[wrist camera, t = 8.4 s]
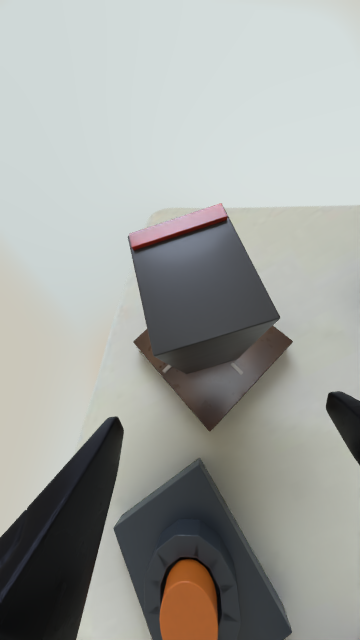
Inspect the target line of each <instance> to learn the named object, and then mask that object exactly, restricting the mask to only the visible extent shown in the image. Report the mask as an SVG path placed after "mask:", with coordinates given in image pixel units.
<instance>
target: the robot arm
mask: <svg viewBox="0 0 360 640" xmlns="http://www.w3.org/2000/svg"><path fill="white" fill-rule="evenodd" d="M326 410H327V412H328V414H329V416H330V418H331V419H332V421H333V423H334V424H335V426H336V428H337V430H338V431H339V433H340V435H341V436H342V438H343V440H344V442H345V443H346V445H347V447H348V448H349V450H350V452H351V453H352V455H353V456H354V458H355V459H356V461H357V462H358V463H359V465H360V401H359V400H357V399H355V398H353V397H351V396H349V395H347V394H345V393H343V392H340V391H337V392H330V393H329V394H328V398H327V403H326ZM123 434H124V430H123V426H122V424H121V422H120V420H119V418H118V417H109V418H108V419H106V420H105V422H104V423H103V424H102V425H101V426H100V427H99V428H98V429H97V431H96V432H95V433H94V434H93V435H92V436H91V437H90V438H89V439H88V441H87V442H86V443H85V444H84V445H83V446H82V447H81V448H80V450H79V451H78V452H77V453H76V454H75V455H74V456H73V457H72V458H71V460H70V461H69V462H68V463H67V464H66V465H65V466H64V467H63V469H62V470H61V471H60V472H59V473H58V474H57V475H56V476H55V477H54V479H53V480H52V481H51V482H50V483H49V484H48V485H47V486H46V488H45V489H44V490H43V491H42V492H41V493H40V494H39V495H38V497H37V498H36V499H35V500H34V501H33V502H32V503H31V504H30V505H29V507H28V508H27V510H25V511H24V512H23V513H22V514H21V515H20V517H19V518H18V519H17V520H16V521H15V522H14V523H13V524H12V525H11V526H10V528H9V529H8V530H7V531H6V532H5V533H4V534H3V535H2V536H1V537H0V640H76V638H77V634H78V630H79V626H80V622H81V618H82V614H83V610H84V606H85V602H86V598H87V594H88V590H89V585H90V581H91V577H92V573H93V569H94V565H95V561H96V557H97V553H98V549H99V545H100V541H101V537H102V533H103V529H104V525H105V521H106V517H107V513H108V509H109V505H110V501H111V497H112V493H113V489H114V485H115V481H116V476H117V472H118V466H119V460H120V453H121V447H122V441H123Z"/></svg>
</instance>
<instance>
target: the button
mask: <svg viewBox="0 0 360 640" xmlns="http://www.w3.org/2000/svg"><path fill="white" fill-rule="evenodd" d="M160 630H161V635H162V639H163V640H217V639H218V613H217V594H216V589H215V585H214V582H213V580H212V577H211V576H210V574H209V572H208V571H207V569H206V568H205V567H204V566H203V565H202V564H201V563H199V562H198V561H196V560H193V559H183V560H180V561H179V562H177V563H176V564H175V565H174V566H173V567H172V569H171V570H170V572H169V574H168V577H167V581H166V585H165V590H164V594H163V599H162V604H161V608H160Z"/></svg>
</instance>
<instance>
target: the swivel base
mask: <svg viewBox="0 0 360 640" xmlns="http://www.w3.org/2000/svg"><path fill="white" fill-rule="evenodd" d="M292 342H293V341H292V340H291V339H289V338H288V337H287V336H285V335H284V334H283V333H282V332H280V331H279V330H278V329H276V328H275V327H274V326H272V327H271V328H269V329H268V330H267V331H266V332H265V333H264V334H263V335H262V336H261V337H260V338H259V339H258V340H257V341H256V342H255V343H254V344H253V345H252V346H251V347H250V348H249V349H248V350H246V351H245V352H244V353H243V354H242V355H241V356H240V357H239V358H238V359H236V360H233V361H230V362H226V363H223V364H219V365H216V366H213V367H209V368H206V369H202V370H199V371H196V372H192V373H189V374H185V373H183V372H181V371H179V370H178V369H176V368H174V367H172V366H170V365H169V364H167V363H165V362H163V361H161V360H160V359H158V358H156V357H154V356H153V352H152V348H151V343H150V338H149V334H148V329H147V330H145V331H144V332H143V333H142V334H141V335H140V336H139V337H138V338H137V339H136V340H135V341H134V343H135V345H136V346H137V347H138V348H139V349H140V351H141V352H142V353H143V354H144V355H145V356H146V358H147V359H148V360H149V361H150V362H151V363H152V365H153V366H154V367H155V368H156V369H157V370H158V372H159V373H160V374H161V375H162V376H163V378H164V379H165V380H166V381H167V382H168V383H169V385H170V386H171V387H172V388H173V389H174V390H175V392H176V393H177V394H178V395H179V396H180V397H181V399H182V400H183V401H184V402H185V403H186V405H187V406H188V407H189V408H190V409H191V410H192V412H193V413H194V414H195V415H196V416H197V417H198V419H199V420H200V421H201V422H202V423H203V424H204V426H205V427H206V428H207V429H208V430H209V431H211V430H212V429H213V428H214V427H215V426H216V425H217V424H218V423H219V422H220V421H221V419H222V418H223V417H224V416H225V415H226V414H227V413H228V412H229V411H230V410H231V409H232V407H233V406H234V405H235V404H236V403H237V402H238V401H239V400H240V399H241V398H242V397H243V396H244V394H245V393H246V392H247V391H248V390H249V389H250V388H251V387H252V386H253V385H254V384H255V382H256V381H257V380H258V379H259V378H260V377H261V376H262V375H263V374H264V373H265V372H266V371H267V369H268V368H269V367H270V366H271V365H272V364H273V363H274V362H275V361H276V360H277V359H278V357H279V356H280V355H281V354H282V353H283V352H284V351H285V350H286V349H287V348H288V347H289V346H290V344H291V343H292Z"/></svg>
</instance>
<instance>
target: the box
mask: <svg viewBox="0 0 360 640" xmlns="http://www.w3.org/2000/svg"><path fill="white" fill-rule="evenodd" d="M128 240H129V245H130V249H131V254H132V259H133V263H134V268H135V273H136V277H137V282H138V287H139V291H140V296H141V301H142V306H143V310H144V315H145V320H146V324H147V329H148V334H149V338H150V343H151V348H152V352H153V356H154V357H156V358H158V359H160V360H161V361H163V362H165V363H167V364H169V365H170V366H172V367H174V368H176V369H178V370H179V371H181V372H183V373H185V374H189V373H192V372H196V371H199V370H202V369H206V368H209V367H213V366H216V365H219V364H223V363H226V362H230V361H233V360H236V359H238V358H239V357H240V356H241V355H242V354H243V353H244V352H245V351H246V350H248V349H249V348H250V347H251V346H252V345H253V344H254V343H255V342H256V341H257V340H258V339H259V338H260V337H261V336H262V335H263V334H264V333H265V332H266V331H267V330H268V329H269V328H271V327H272V326H273V325H274V324H275V323H276V322H277V321H278V320H279V319H280V316H279V314H278V312H277V310H276V308H275V306H274V304H273V303H272V301H271V299H270V297H269V295H268V293H267V291H266V289H265V287H264V285H263V283H262V281H261V279H260V277H259V275H258V273H257V271H256V269H255V267H254V266H253V264H252V262H251V260H250V258H249V256H248V254H247V252H246V250H245V248H244V246H243V244H242V242H241V240H240V238H239V236H238V234H237V232H236V231H235V229H234V227H233V225H232V223H231V221H230V219H229V217H228V215H227V213H226V211H225V209H224V207H223V206H222V204H217V205H214V206H211V207H208V208H205V209H202V210H199V211H196V212H193V213H190V214H187V215H184V216H181V217H178V218H175V219H172V220H169V221H166V222H163V223H160V224H157V225H154V226H151V227H148V228H145V229H142V230H139V231H136V232H133V233H130V234H129V236H128Z"/></svg>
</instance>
